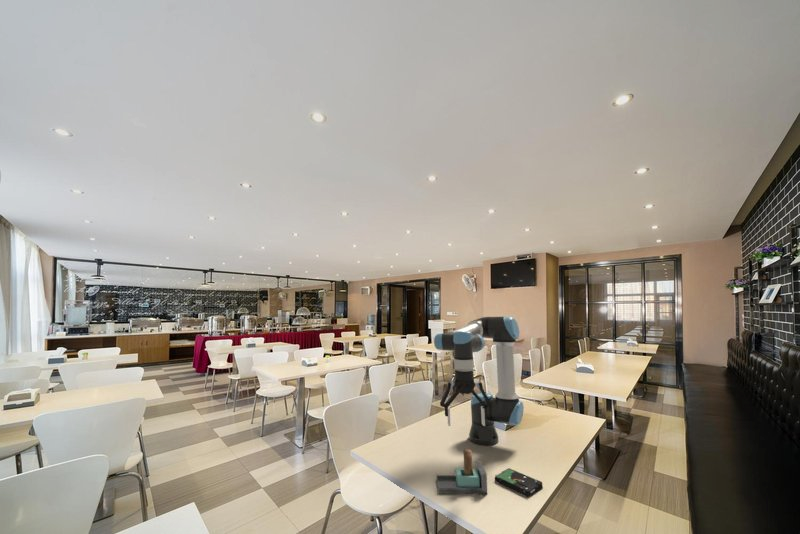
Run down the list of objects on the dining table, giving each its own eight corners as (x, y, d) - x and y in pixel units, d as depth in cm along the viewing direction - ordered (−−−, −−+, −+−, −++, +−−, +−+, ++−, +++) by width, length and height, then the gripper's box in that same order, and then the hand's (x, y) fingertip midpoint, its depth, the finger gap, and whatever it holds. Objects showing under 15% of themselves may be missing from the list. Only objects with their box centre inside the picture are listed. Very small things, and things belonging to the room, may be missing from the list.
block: (476, 479, 126) (475, 468, 127) (479, 488, 119) (479, 477, 120) (455, 479, 126) (455, 468, 127) (458, 488, 120) (458, 477, 120)
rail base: (481, 480, 127) (480, 461, 128) (487, 494, 117) (486, 474, 119) (436, 480, 128) (436, 461, 129) (438, 493, 118) (438, 473, 119)
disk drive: (543, 489, 121) (508, 474, 133) (542, 481, 122) (508, 467, 133) (529, 499, 115) (494, 482, 126) (528, 491, 115) (493, 475, 127)
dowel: (472, 482, 124) (471, 449, 126) (473, 486, 121) (472, 452, 123) (464, 481, 125) (463, 449, 126) (465, 486, 121) (464, 452, 123)
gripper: (492, 367, 133) (495, 421, 129) (432, 368, 133) (434, 421, 130) (497, 371, 125) (500, 428, 122) (433, 371, 126) (435, 428, 123)
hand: (466, 424), depth 126 cm, fingers open, 13 cm apart
